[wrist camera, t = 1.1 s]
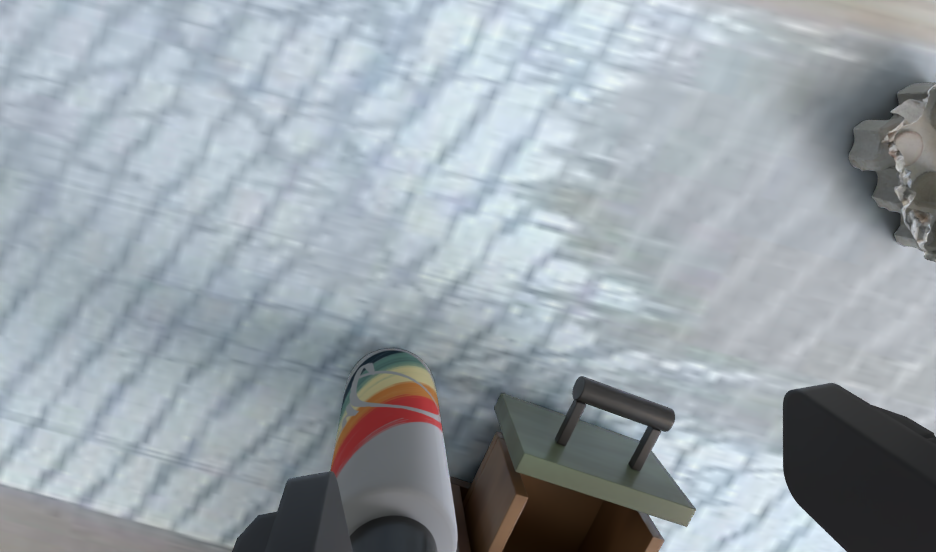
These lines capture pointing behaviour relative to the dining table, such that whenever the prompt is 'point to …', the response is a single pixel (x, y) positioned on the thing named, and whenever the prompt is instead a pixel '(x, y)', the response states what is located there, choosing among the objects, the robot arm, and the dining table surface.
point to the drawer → (573, 479)
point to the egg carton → (904, 164)
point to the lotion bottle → (394, 458)
